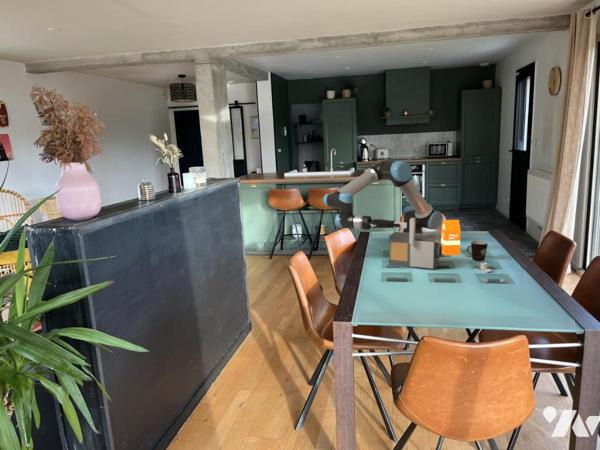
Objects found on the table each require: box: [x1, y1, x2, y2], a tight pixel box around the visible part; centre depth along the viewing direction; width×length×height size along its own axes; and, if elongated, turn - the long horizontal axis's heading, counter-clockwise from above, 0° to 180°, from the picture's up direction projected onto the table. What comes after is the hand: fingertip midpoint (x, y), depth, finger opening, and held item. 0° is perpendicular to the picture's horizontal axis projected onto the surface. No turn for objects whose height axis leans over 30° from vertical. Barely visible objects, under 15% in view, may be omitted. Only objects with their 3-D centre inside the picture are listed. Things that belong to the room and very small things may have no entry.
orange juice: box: [440, 219, 462, 256], centre depth 265 cm, size 8×9×20 cm
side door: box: [409, 218, 434, 270], centre depth 235 cm, size 4×12×26 cm, turn 64°
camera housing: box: [388, 231, 443, 271], centre depth 246 cm, size 12×26×17 cm, turn 64°
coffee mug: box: [466, 240, 489, 262], centre depth 251 cm, size 12×9×10 cm
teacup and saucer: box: [475, 261, 493, 273], centre depth 234 cm, size 9×8×4 cm
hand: (406, 225), depth 237 cm, fingers closed
